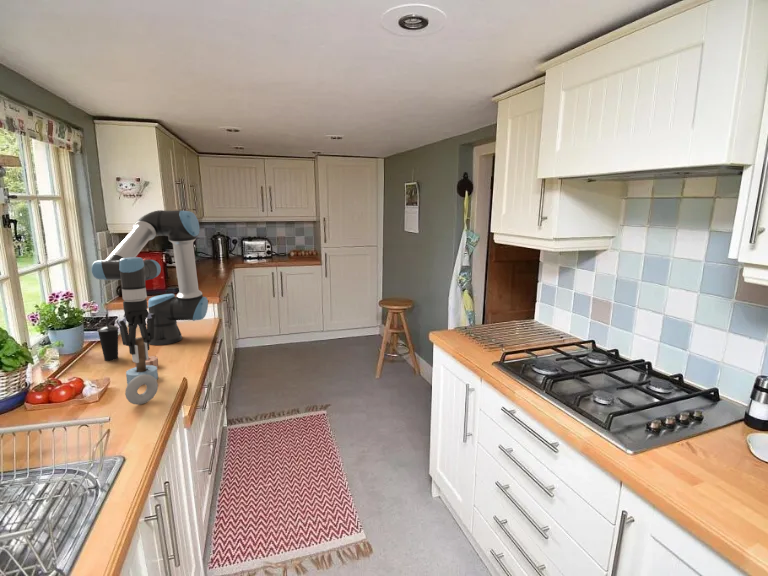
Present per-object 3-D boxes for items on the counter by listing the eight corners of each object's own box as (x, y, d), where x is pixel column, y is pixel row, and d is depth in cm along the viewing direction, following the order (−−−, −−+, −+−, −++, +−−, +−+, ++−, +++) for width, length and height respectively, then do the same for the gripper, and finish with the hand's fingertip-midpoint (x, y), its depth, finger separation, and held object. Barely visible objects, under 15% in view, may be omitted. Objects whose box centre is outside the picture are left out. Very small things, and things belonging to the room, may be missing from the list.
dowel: (143, 371, 153) (140, 336, 150) (148, 373, 151) (145, 337, 149) (135, 374, 150) (132, 338, 148) (140, 376, 149) (137, 340, 146)
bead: (146, 363, 169) (145, 355, 168) (162, 364, 167) (162, 356, 166) (131, 370, 161) (130, 361, 160) (148, 371, 159) (147, 363, 159)
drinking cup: (111, 362, 169) (106, 317, 165) (96, 361, 170) (90, 315, 167) (126, 356, 176) (121, 312, 173) (111, 355, 178) (106, 311, 174)
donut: (130, 410, 127) (127, 381, 126) (124, 408, 129) (121, 378, 127) (161, 399, 136) (158, 371, 134) (155, 396, 137) (153, 369, 136)
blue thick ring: (147, 373, 158) (146, 363, 157) (163, 377, 154) (162, 368, 153) (121, 382, 149) (120, 372, 148) (137, 387, 145) (136, 377, 144)
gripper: (149, 295, 155) (154, 352, 159) (105, 302, 140) (112, 365, 144) (162, 297, 151) (166, 355, 155) (118, 304, 137) (125, 369, 141)
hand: (140, 360), depth 150 cm, fingers closed on dowel, 3 cm apart
